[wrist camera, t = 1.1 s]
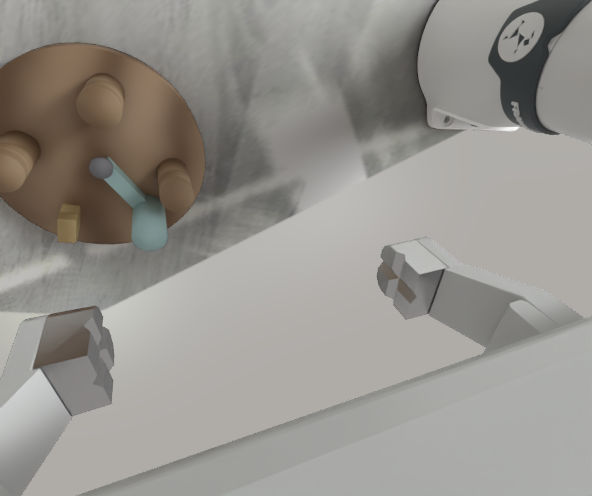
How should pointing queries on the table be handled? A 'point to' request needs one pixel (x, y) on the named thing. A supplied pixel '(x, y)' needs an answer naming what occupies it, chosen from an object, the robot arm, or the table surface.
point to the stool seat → (93, 140)
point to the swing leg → (135, 205)
